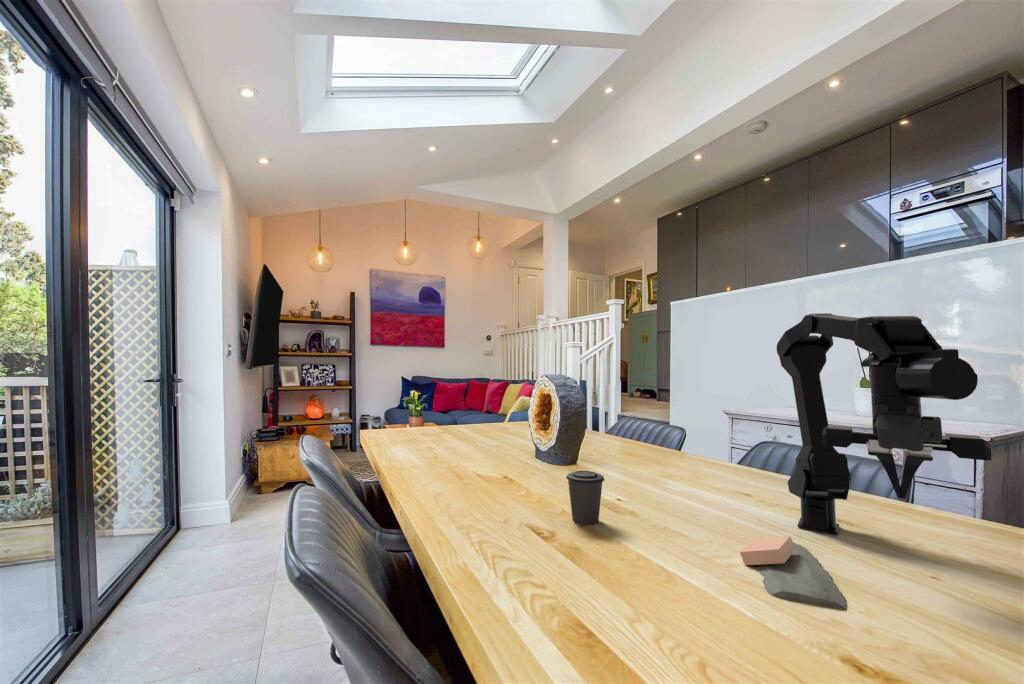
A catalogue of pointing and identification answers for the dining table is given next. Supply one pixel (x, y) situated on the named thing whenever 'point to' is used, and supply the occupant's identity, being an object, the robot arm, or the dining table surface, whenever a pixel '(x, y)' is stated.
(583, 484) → the coffee cup
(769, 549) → the block
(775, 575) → the stone slab
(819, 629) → the dining table surface
